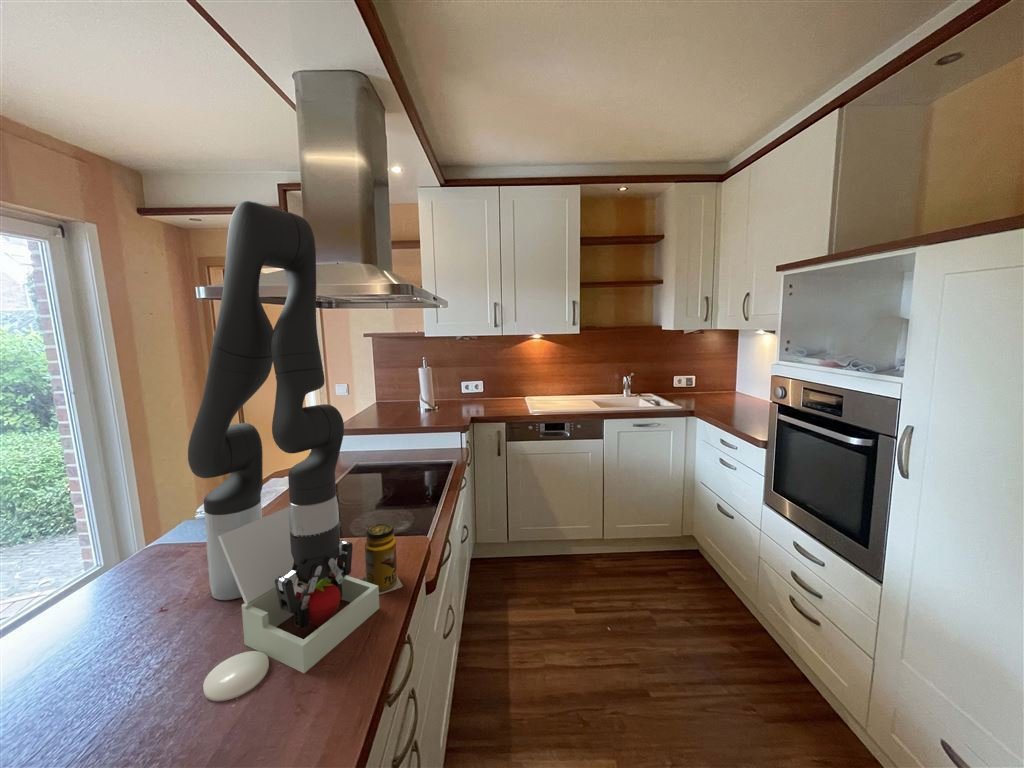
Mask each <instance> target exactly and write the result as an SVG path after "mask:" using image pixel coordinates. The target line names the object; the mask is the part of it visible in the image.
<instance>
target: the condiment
mask: <svg viewBox="0 0 1024 768" xmlns="http://www.w3.org/2000/svg"><path fill="white" fill-rule="evenodd" d="M394 530H395V529H394V527H393V525H391V524H389V523H377V524H373V525H372V526H369V528H368V529H367V530H366V531H365V532H366V533H365V534H366V537H365V538H366V539H365V540H366V542H365V544H364V557H365V559H364V560H365V576H364V577H361V578H358V579H359V580H362V581H365V582H368V583H371V584H374V585H377V586H379V595H383V594H386V593H389V592H393V591H395V590H397V589H400V588H402V587H404V585H403V583H402V582H401V580H400V579H399V578H398V573H397V572H398V568H397V566H398V565H397V543H396V542H397V541H396V538H395V533H394V532H395V531H394Z"/></svg>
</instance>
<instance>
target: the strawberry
mask: <svg viewBox="0 0 1024 768" xmlns="http://www.w3.org/2000/svg"><path fill="white" fill-rule="evenodd" d="M323 579H324V578H323ZM323 579H321V580H320V581H319V582H318V583H317V584H316V586H315V589H314V592H313V594H311V595H310V598H309V601H308V604H307V607H308V608H309V623H312V624H313V625H315V627H317V628H319V627H320V626H322V625H323V624H324V623H326V622H327V621H328V620H329V619H331V618H332V617H333V616H334V614H335V613H336V611H337V610H338V608H339V605H340V603H339V602H340V598H341V595H340V591H339V588H338V587H337V586H335V585H334V584H332V583H330V582H329V581H331V580H332V579H329V580H323ZM307 586H308V585H307ZM307 586H306V587H307ZM301 599H302V594H301V597H300V600H301Z"/></svg>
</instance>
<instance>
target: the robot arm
mask: <svg viewBox="0 0 1024 768" xmlns="http://www.w3.org/2000/svg"><path fill="white" fill-rule="evenodd" d="M228 225H229V226H228V229H227V230H228V231H227V239H226V240H227V241H226V251H225V260H224V263H225V264H224V278H223V287H222V295H221V301H220V304H219V305H220V306H219V311H218V317H217V322H216V325H215V326H216V327H215V329H214V330H215V332H214V335H213V338H212V339H213V340H212V344H211V349H210V354H209V360H208V361H209V362H208V369H207V374H206V380H205V386H204V389H203V390H204V391H203V395H202V399H201V403H200V405H199V410H198V411H197V416H196V418H195V421H194V424H193V428H192V431H191V433H190V434H191V435H190V438H189V441H188V447H187V462H188V466H189V468H190V471H191V472H192V473H193V474H194V475H195V476H196V477H199V478H201V479H211V478H216V477H217V478H218V477H221V476H225V475H228V474H229V475H228V476H227V478H225V480H224V481H222V483H220V484H219V485H217V486H216V487H214V488H213V489H212V490H210V491H209V492H208V493H206V495H205V496H204V498H203V510H204V521H205V532H206V533H205V534H206V545H205V546H206V547H205V548H206V557H207V569H208V581H209V588H210V589H209V590H210V593H211V596H212V598H213V599H216V600H218V601H231V600H235V599H240V598H242V595H241V593H240V590H239V588H238V585H237V583H236V580H235V578H234V575H233V573H232V571H231V568H230V566H229V563H228V561H227V558H226V556H225V553H224V551H223V548H222V546H221V543H220V541H219V539H218V536H220V535H222V534H225V533H227V532H230V531H232V530H234V529H237V528H239V527H242V526H244V525H246V524H249V523H251V522H254V521H256V520H258V519H261V518H263V512H262V511H263V510H262V490H263V486H264V482H263V481H264V480H263V472H264V471H263V468H264V467H263V466H264V465H263V463H264V462H263V461H264V460H263V455H264V454H263V443H262V442H263V441H262V439H261V435H260V433H259V431H258V430H257V428H256V426H254V425H253V424H251V423H248V422H241V423H234V424H231V423H232V420H233V419H234V417H235V416H236V414H237V413H238V411H239V410H240V409H241V408H242V407H243V406H244V405H245V404H246V403H247V402H248V401H249V400H250V399H251V398H252V397H253V396H254V395H255V394H256V393H257V392H258V390H259V389H261V387H262V386H263V385H264V384H265V382H266V381H267V380H268V378H269V376H270V373H271V371H272V367H273V368H274V375H275V380H276V387H275V388H276V390H275V391H276V392H275V398H274V399H275V401H274V409H273V417H272V422H271V432H272V433H271V434H272V439H273V441H274V442H275V445H276V446H277V447H278V448H279V449H280V450H281V451H282V452H284V453H285V454H286V453H287V454H299V453H302V452H305V451H309V450H310V452H309V455H308V456H307V457H306V458H305V459H303V460H301V461H300V462H298V463H297V464H295V465H294V466H292V467H291V468H290V469H289V471H288V474H287V475H288V494H289V495H288V497H289V506H290V507H289V506H288V507H289V526H290V543H291V554H292V556H293V559H294V563H293V567H292V571H291V572H289V573H288V574H287V575H285V576H284V577H282V576H278V577H277V578H276V579H275V586H276V590H277V595H278V599H279V604H280V608H281V609H282V610H286V611H288V612H290V613H294V615H293V623H294V625H295V627H298V628H300V629H302V630H306V629H308V628H309V627H310V621H309V608H308V607H307V604H308V601H309V598H310V595H311V594H313V592H314V589H315V586H316V584H317V583H318V582H319V581H320V580H321V579H323V578H326V577H327V578H328V580H329V579H332V580H331V582H330V583H332V584H334V585H335V586H337V587H338V588H339V591H340V595H341V598H342V582H343V580H344V577H345V576H346V575H347V576H350V574H351V572H352V564H353V563H352V561H353V560H352V558H353V546H354V545H353V543H352V542H350V541H347V540H342V539H341V538H340V537H341V535H340V517H339V516H340V515H339V503H338V498H337V487H336V468H337V464H338V461H339V456H340V452H341V447H342V444H343V440H344V433H345V425H344V424H345V423H344V419H343V416H342V414H341V412H340V411H339V410H338V409H337V407H335V406H333V405H332V404H326V403H324V404H323V403H322V404H317V405H311V406H305V407H304V401H305V398H306V395H307V394H309V393H312V392H314V391H317V390H320V389H321V388H323V387H324V385H325V373H324V368H323V367H324V366H323V362H322V355H321V349H320V344H319V339H318V338H319V337H318V326H317V253H316V252H317V251H316V250H317V248H316V240H315V235H314V232H313V229H312V226H311V224H310V223H309V222H308V221H307V220H306V219H305V218H304V217H303V216H301V215H299V214H295V213H292V212H288V211H287V210H282V209H279V208H276V207H273V206H270V205H267V204H263V203H260V202H256V201H252V200H244V201H241V202H240V203H239V204H237V206H235V208H234V210H233V212H232V214H231V217H230V220H229V224H228ZM263 267H271V268H274V269H275V268H276V269H281V270H284V272H285V277H286V280H287V295H286V299H285V302H284V305H283V308H282V309H281V312H280V314H279V316H278V318H277V321H276V323H275V325H274V328H273V325H272V323H271V321H270V319H269V317H268V315H267V313H266V311H265V308H264V307H263V303H262V301H261V297H260V291H259V290H260V278H261V273H262V269H263ZM336 563H337V564H336ZM296 577H297V578H296ZM295 578H296V581H295ZM294 581H295V584H294ZM303 583H306V584H308V586H307V587H306V586H304V585H303ZM301 594H302V599H301V600H300V597H301ZM341 598H340V602H339V604H341V603H342V599H341Z"/></svg>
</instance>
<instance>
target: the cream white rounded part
mask: <svg viewBox="0 0 1024 768" xmlns="http://www.w3.org/2000/svg"><path fill="white" fill-rule="evenodd" d="M269 667H270V663H269V656H267V655H266V654H264V653H262V652H259V651H257V650H253V651H252V650H251V651H245V652H241V653H237V654H235V655H232V656H230V657H228V658H227V659H224V660H223V661H221V662H220V663H219V664H217V665H216V666H215V667H214V668H213V669H212V670H210V672H209V673H208V674H207V675H206V676H205V679H204V680H203V686H202V688H203V694H204V696H205V698H206V699H207V700H210V701H211V702H226V701H229V700H232V699H236V698H239V697H241V696H242V695H245V694H247V693H248V692H249V691H251V690H252V689H254V688H256V686H257V685H259V684H260V683H261V682H262V681H263V680H264V679H265V677H266V675H267V674H268V672H269Z"/></svg>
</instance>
